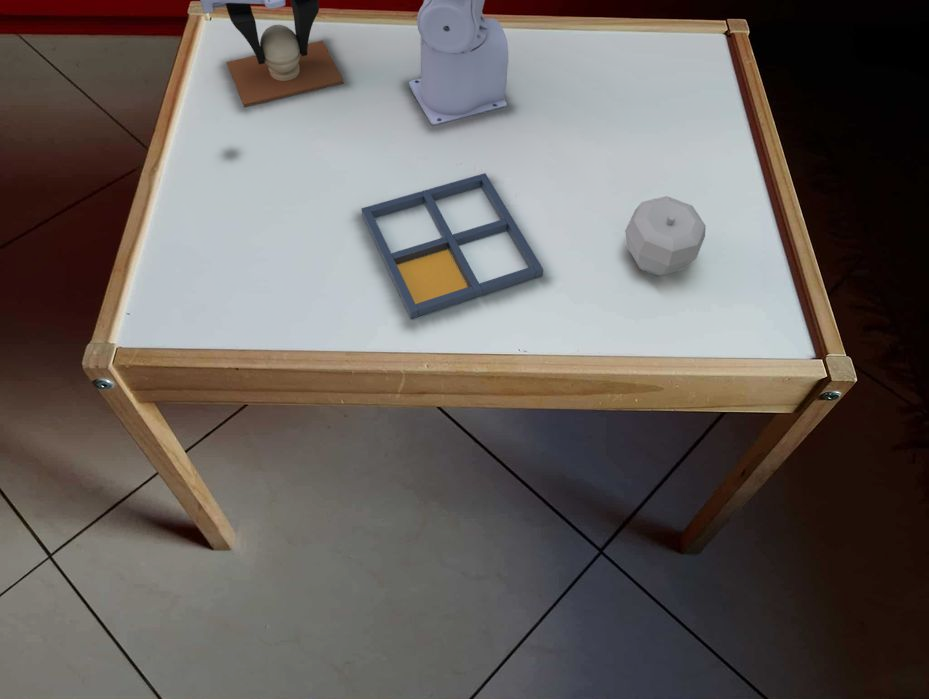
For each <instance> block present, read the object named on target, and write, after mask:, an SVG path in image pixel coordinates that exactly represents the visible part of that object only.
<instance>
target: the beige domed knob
mask: <svg viewBox="0 0 929 699" xmlns="http://www.w3.org/2000/svg"><path fill="white" fill-rule="evenodd" d="M259 44H260V47H261V50H262V53H263V56H264V61H265V63H266V65H267V66H268V67H269V73H270V75H271V76H272V77H273V78H274V79H276V80H280V81H288V80H291V79H294V78H295V77H297V76H298V75H299V73H300V67H299V61H300V56H301V54H300V47H299V42H298V38H297V37H296V33H295V31H293V30H292V29H291V28H290V27H288V26H286V25H282V24H273V25H270V26H269V27H267V28H265V30H264V31H263V32H262V35H261V37H260V39H259Z"/></svg>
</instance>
